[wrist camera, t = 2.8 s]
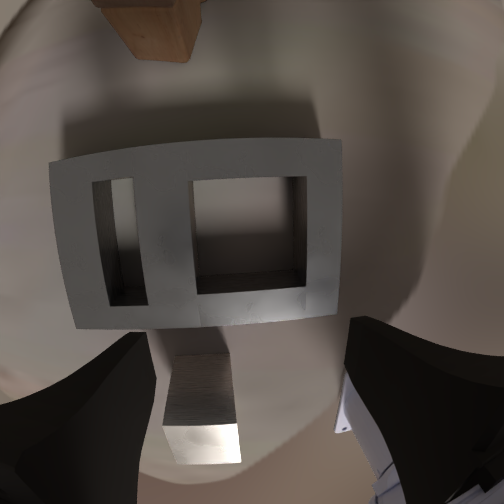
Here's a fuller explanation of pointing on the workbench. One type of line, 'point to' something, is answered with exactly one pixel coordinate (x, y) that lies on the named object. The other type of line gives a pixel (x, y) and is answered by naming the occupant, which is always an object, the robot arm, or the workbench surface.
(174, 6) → the wooden stand
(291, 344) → the workbench surface
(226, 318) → the socket plate
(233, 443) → the block
